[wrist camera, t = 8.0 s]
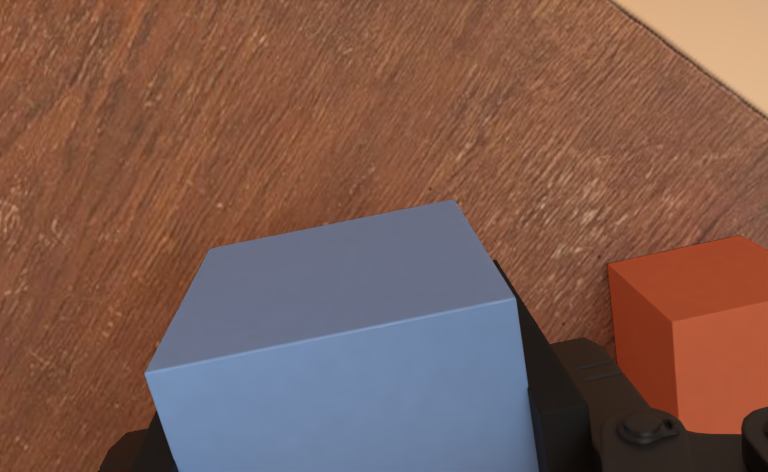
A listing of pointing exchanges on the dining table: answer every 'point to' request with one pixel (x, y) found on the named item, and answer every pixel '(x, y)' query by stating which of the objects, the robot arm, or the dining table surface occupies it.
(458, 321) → the blue block
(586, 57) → the dining table surface
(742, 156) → the dining table surface
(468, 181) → the dining table surface
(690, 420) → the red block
